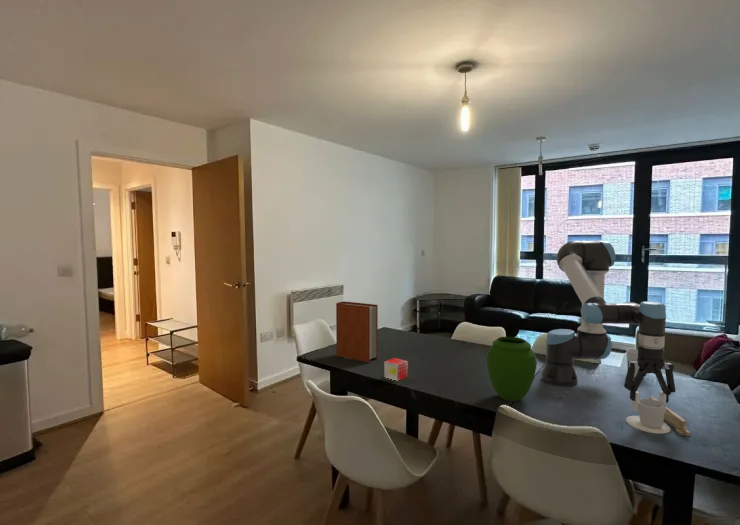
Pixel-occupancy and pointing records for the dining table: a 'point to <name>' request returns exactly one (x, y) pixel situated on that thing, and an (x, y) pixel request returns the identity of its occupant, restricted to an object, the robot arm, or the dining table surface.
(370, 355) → the book
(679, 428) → the rail
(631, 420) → the coaster
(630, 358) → the cup
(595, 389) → the dining table surface
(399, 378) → the puzzle cube
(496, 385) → the vase
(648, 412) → the cup
